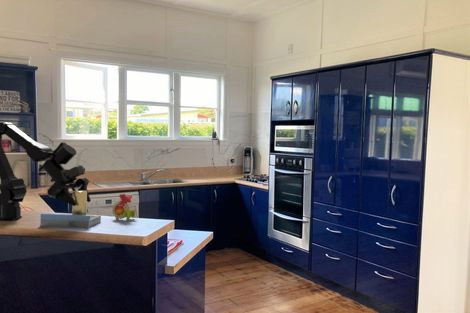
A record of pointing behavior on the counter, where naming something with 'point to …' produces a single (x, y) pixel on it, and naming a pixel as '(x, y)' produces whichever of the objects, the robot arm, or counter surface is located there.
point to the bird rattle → (120, 209)
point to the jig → (69, 220)
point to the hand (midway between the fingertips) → (83, 203)
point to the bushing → (80, 203)
